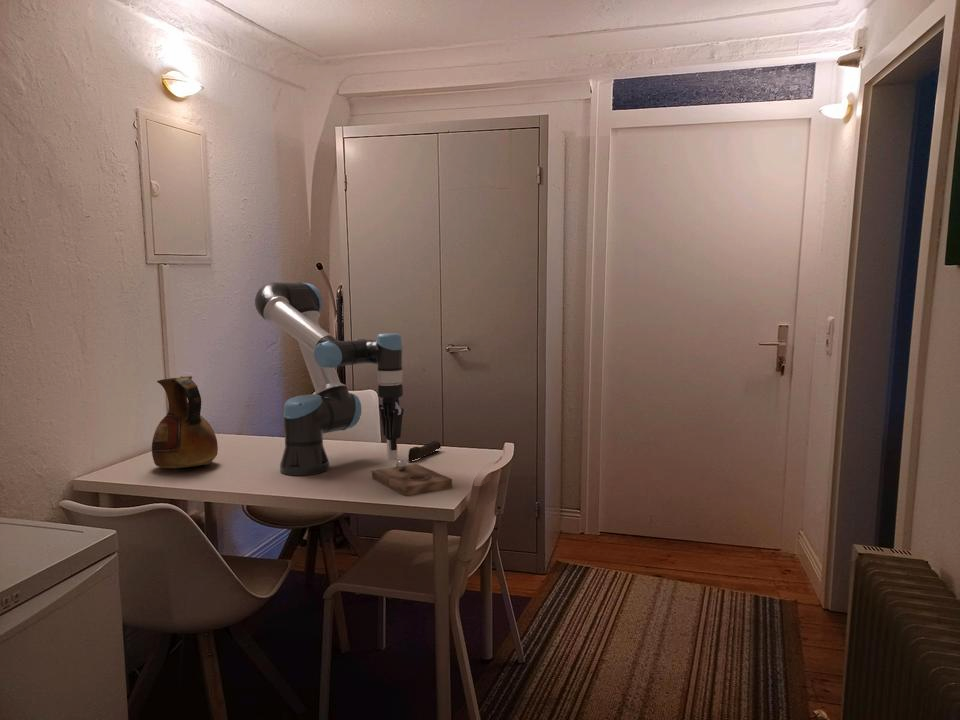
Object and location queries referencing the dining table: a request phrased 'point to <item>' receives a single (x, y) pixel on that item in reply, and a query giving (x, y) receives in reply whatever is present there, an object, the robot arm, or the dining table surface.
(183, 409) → the ceramic pitcher
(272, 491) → the dining table surface
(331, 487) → the dining table surface
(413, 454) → the hand tool
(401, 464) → the steel ball
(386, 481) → the walnut plate
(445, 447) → the dining table surface
